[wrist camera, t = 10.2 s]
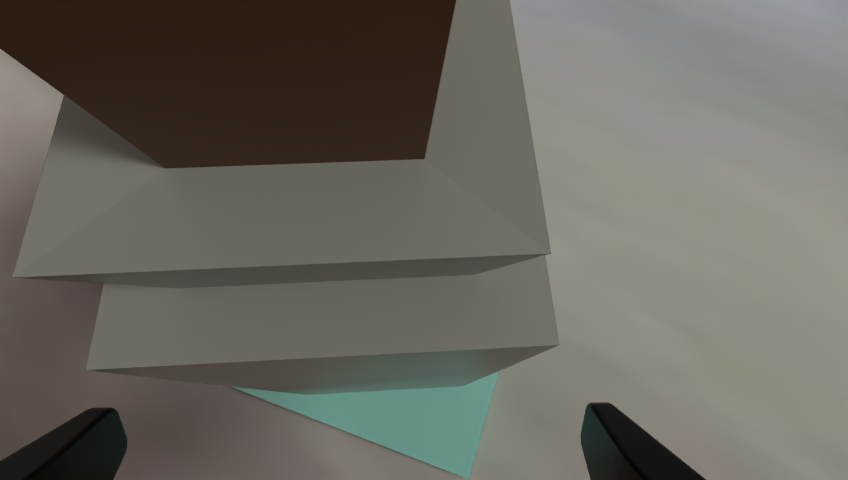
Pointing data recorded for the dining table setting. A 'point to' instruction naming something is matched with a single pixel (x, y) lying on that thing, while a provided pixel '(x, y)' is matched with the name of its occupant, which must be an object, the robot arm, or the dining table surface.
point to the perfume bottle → (290, 189)
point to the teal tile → (405, 418)
